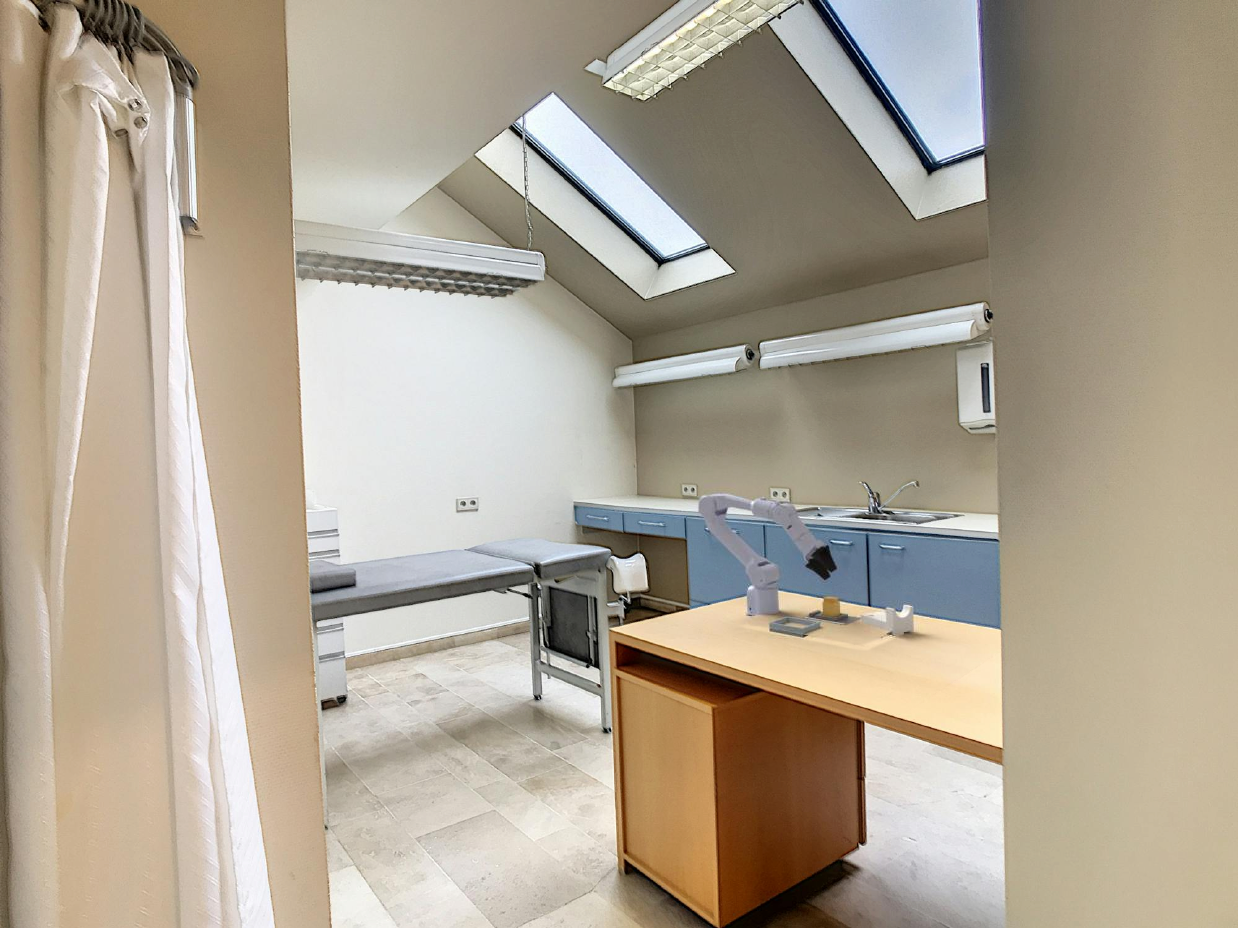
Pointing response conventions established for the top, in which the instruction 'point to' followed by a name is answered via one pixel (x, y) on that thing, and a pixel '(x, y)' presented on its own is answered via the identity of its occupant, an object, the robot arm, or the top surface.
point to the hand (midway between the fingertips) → (830, 574)
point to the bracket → (891, 620)
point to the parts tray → (779, 625)
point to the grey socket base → (832, 618)
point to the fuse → (831, 606)
